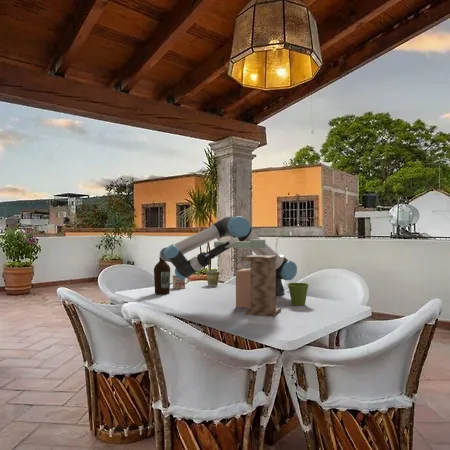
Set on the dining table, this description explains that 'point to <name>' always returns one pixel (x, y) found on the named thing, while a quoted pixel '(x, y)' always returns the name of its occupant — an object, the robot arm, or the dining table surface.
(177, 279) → the teacup with lid
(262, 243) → the handle rail
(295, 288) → the plant pot
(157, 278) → the olive oil
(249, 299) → the reddish brown block
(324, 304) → the dining table surface
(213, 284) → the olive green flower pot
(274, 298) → the tall stand
